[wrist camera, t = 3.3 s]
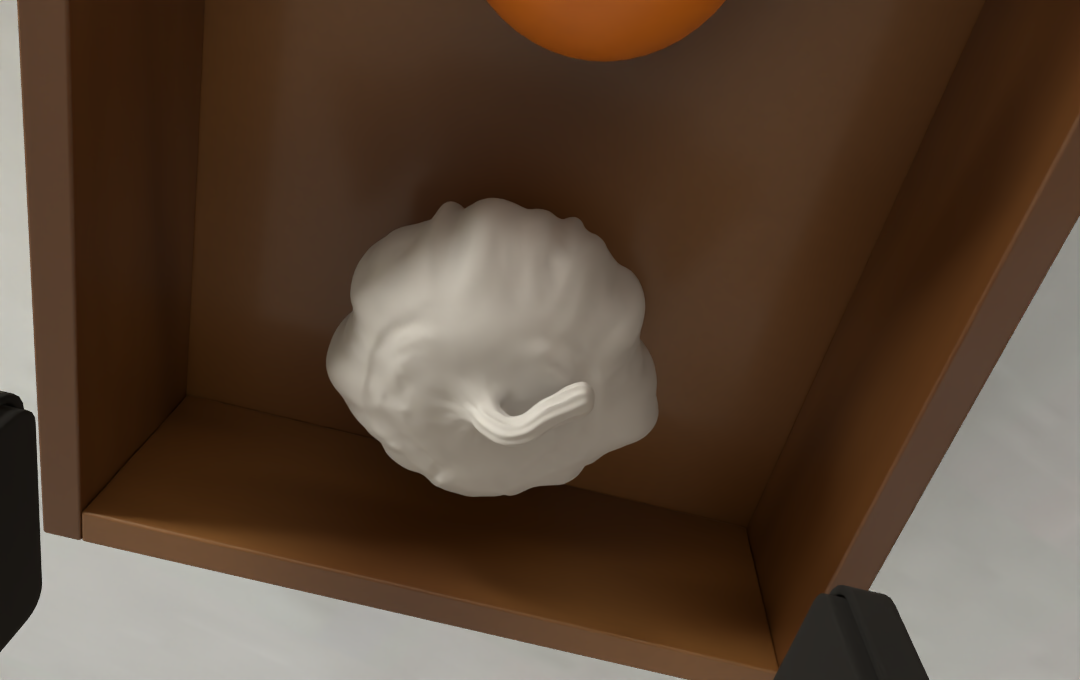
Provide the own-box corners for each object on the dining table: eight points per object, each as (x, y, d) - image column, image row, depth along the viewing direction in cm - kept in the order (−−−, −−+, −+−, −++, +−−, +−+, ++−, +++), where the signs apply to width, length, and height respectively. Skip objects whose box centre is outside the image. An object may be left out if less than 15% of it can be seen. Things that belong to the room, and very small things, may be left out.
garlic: (682, 186, 15) (715, 295, 11) (636, 427, 18) (646, 602, 13) (367, 146, 16) (265, 237, 11) (363, 391, 18) (279, 551, 13)
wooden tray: (1153, -285, 12) (1425, -391, 8) (762, 547, 20) (803, 707, 16) (193, -561, 12) (-28, -825, 8) (161, 404, 19) (42, 532, 15)
